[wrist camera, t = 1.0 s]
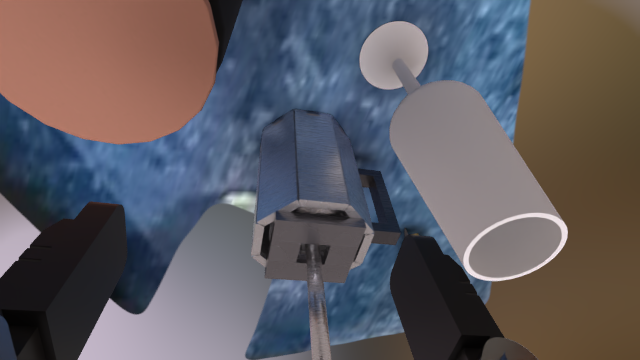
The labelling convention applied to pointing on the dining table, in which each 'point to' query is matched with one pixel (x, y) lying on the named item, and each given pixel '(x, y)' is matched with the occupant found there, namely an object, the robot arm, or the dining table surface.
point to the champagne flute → (463, 163)
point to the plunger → (316, 288)
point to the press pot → (315, 199)
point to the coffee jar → (113, 63)
